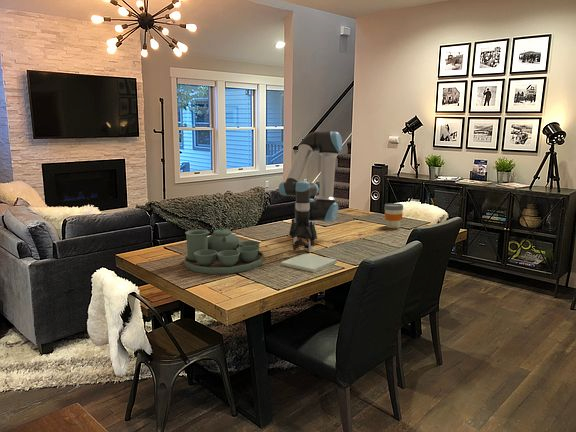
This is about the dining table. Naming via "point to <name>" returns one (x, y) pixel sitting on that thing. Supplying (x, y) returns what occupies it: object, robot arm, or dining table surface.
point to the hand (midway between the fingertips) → (302, 250)
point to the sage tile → (309, 262)
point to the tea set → (220, 252)
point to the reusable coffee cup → (393, 215)
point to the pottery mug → (301, 244)
